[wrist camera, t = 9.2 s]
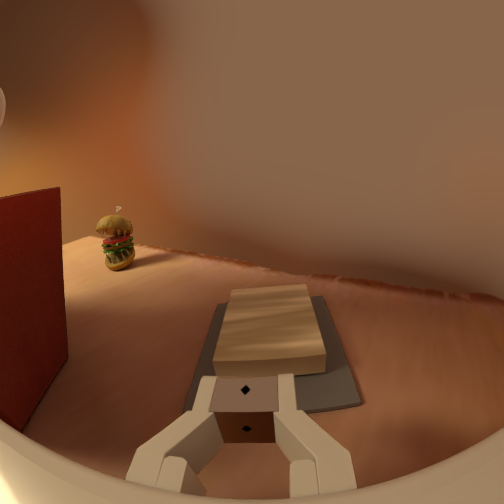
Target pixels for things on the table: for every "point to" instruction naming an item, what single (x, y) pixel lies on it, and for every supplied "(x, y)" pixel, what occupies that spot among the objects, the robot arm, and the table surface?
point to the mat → (307, 386)
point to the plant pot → (30, 301)
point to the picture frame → (269, 333)
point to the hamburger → (117, 241)
